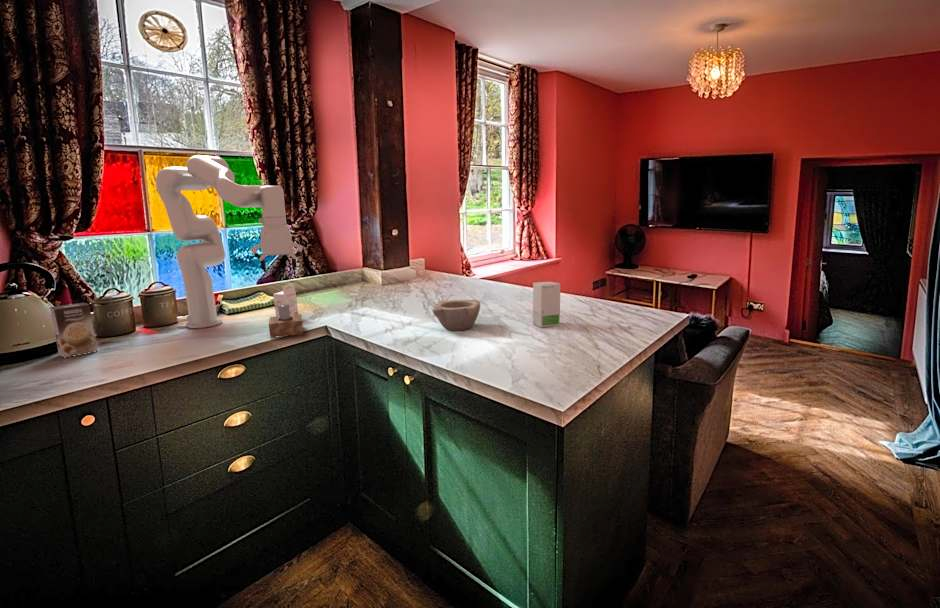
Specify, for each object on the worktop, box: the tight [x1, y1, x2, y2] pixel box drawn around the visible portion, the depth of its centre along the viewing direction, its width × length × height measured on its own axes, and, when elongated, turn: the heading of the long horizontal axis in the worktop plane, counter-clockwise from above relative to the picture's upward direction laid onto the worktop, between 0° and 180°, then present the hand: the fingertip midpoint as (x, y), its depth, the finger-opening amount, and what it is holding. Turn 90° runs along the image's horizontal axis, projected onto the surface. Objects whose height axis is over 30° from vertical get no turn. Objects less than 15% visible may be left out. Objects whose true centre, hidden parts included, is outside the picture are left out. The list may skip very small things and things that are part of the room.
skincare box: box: [532, 281, 561, 329], centre depth 180 cm, size 8×7×16 cm
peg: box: [278, 304, 290, 321], centre depth 179 cm, size 4×4×10 cm
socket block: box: [268, 313, 304, 338], centre depth 180 cm, size 11×11×5 cm
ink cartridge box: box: [272, 282, 299, 317], centre depth 196 cm, size 9×5×15 cm, turn 168°
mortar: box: [432, 299, 481, 331], centre depth 180 cm, size 17×17×9 cm
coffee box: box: [49, 302, 99, 359], centre depth 159 cm, size 9×6×16 cm
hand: (279, 270), depth 176 cm, fingers open, 9 cm apart
